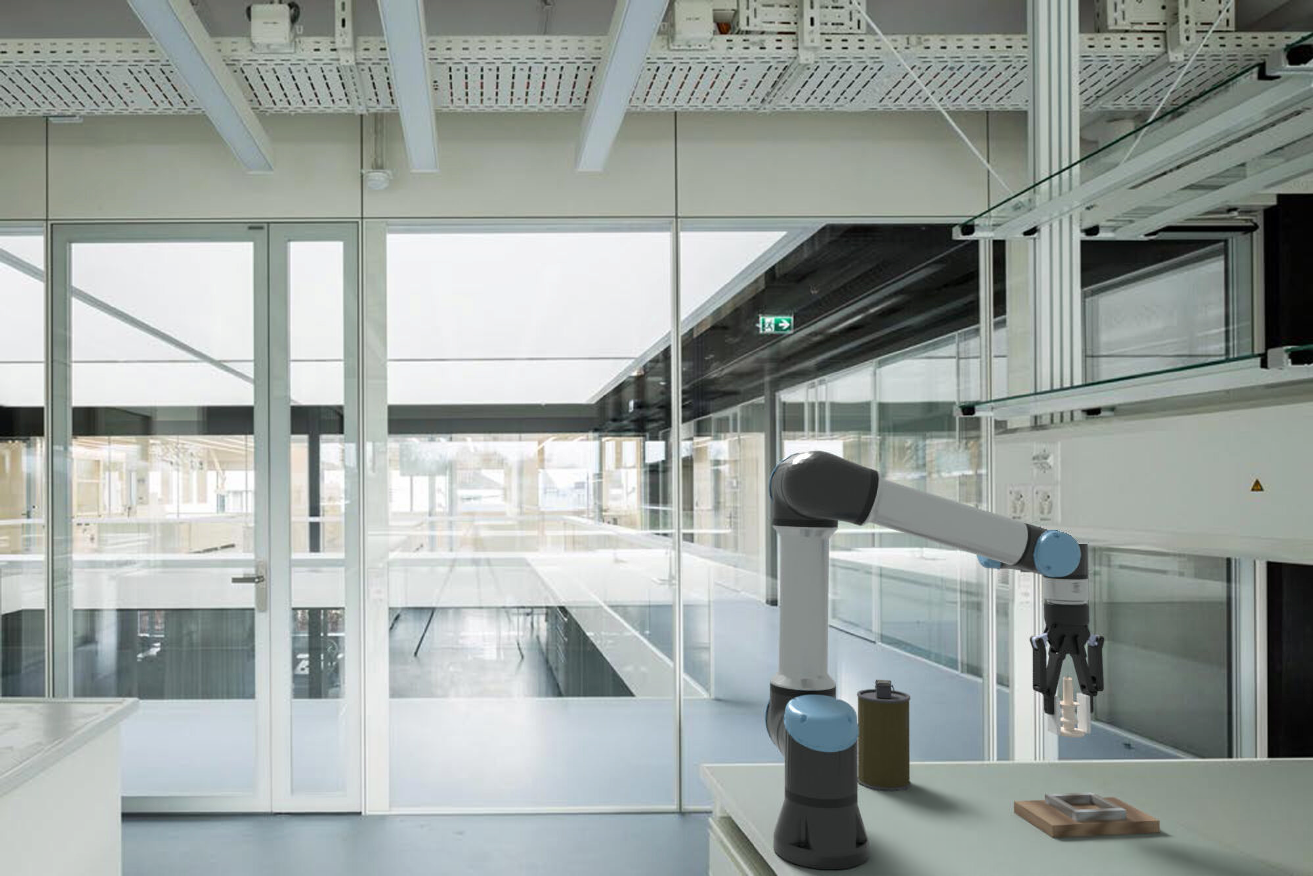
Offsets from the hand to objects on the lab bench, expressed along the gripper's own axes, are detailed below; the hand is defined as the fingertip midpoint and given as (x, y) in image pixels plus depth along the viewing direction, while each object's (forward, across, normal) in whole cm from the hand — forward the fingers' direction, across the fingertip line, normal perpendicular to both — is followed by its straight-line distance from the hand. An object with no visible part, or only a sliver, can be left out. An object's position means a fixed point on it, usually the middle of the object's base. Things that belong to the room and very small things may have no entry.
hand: (1069, 731), depth 162 cm
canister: (+15, -25, +24) cm, 38 cm away
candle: (+1, 0, 0) cm, 1 cm away
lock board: (+15, +1, -2) cm, 15 cm away
